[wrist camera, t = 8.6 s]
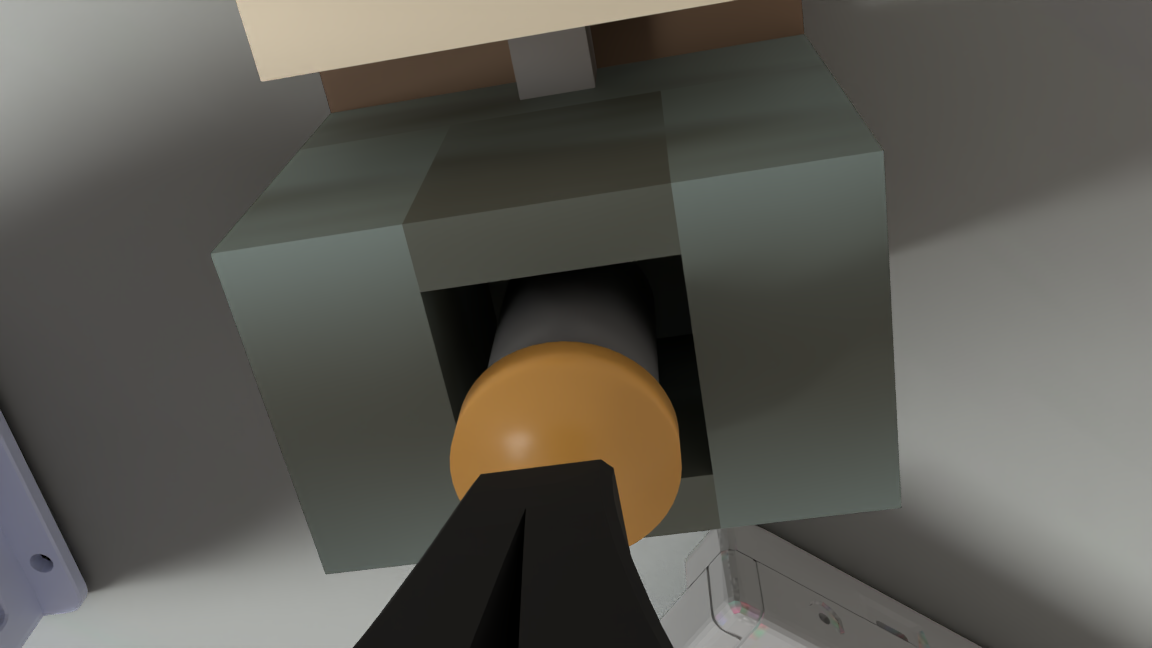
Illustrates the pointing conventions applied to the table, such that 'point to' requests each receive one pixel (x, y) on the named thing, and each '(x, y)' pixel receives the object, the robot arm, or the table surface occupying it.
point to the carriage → (411, 27)
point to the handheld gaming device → (787, 601)
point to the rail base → (578, 265)
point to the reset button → (576, 390)
